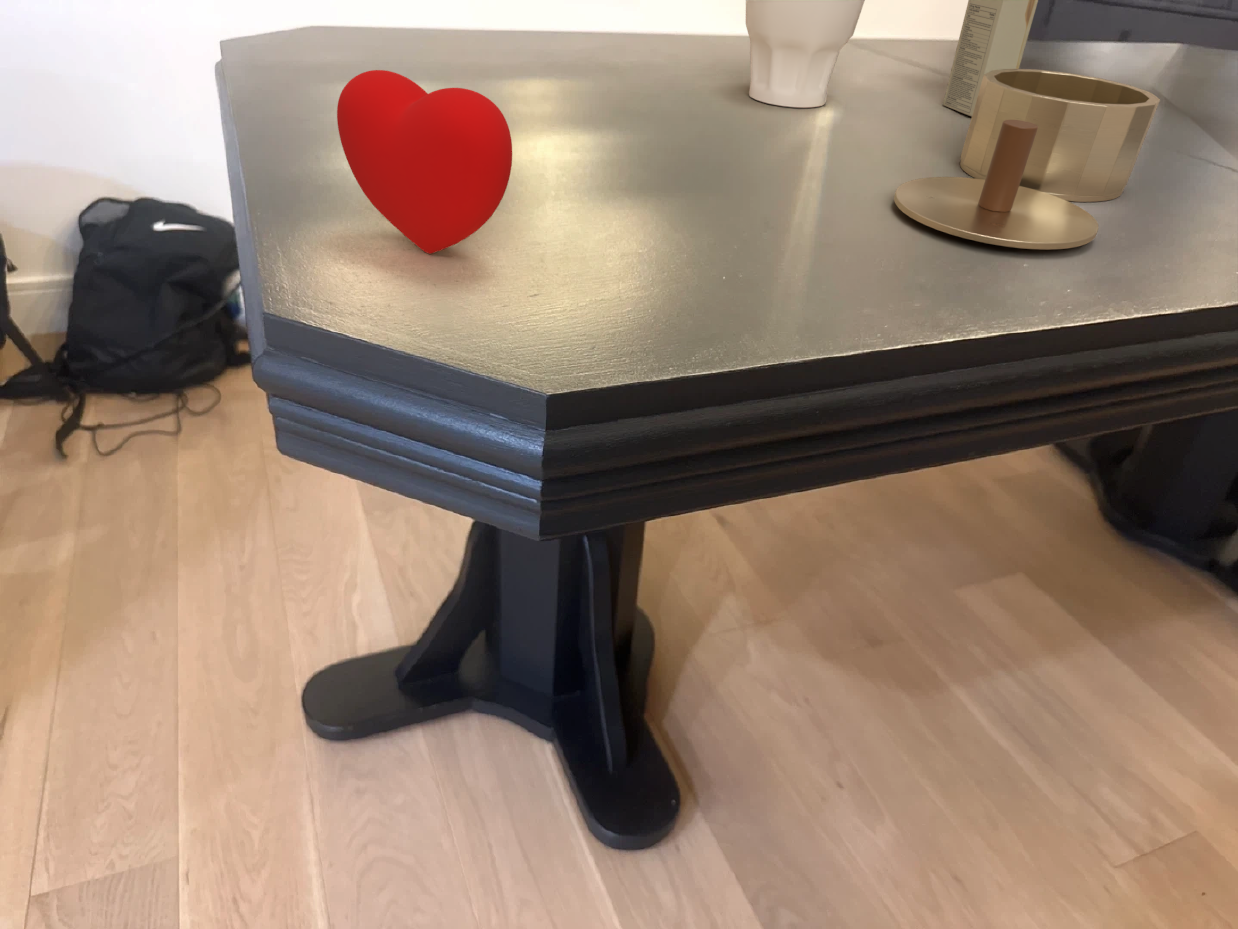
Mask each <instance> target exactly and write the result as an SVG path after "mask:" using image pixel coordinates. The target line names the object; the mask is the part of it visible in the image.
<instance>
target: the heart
mask: <svg viewBox="0 0 1238 929" xmlns="http://www.w3.org/2000/svg"><path fill="white" fill-rule="evenodd" d="M336 119H337V120H336V121H337V129H338V135H339V139H340V143H341V147H342V150H343V153H344V156H345V158H346V161H347V163H348V164H347V165H348V166H349V169H350V170H351V172H352V175H353V177H354V179H355V180H356V182H357V185H358V186H359V187H360V189H361V191H362V193H363V194H364V195H365V197H366V198H367V199H368V201H369V202H370V203H371V205H372V206H373V207H374V208H375V209H376V210H377V211H378V212H379V213H380V215H382V216H383V217H384V218H385V219H386V220H387V221H388V222H389V223H390V224H391V225H392V226H393V227H395V228H396V229H397V230H398V231H399V232H400V233H401V234H402V235H403V236H405V237H406V238H407V239H408V240H410V241H411V243H413V244H414V245H415V246H416V247H418V248H419V249H420V250H421V251H423V252H425V253H426V254H435V253H437V252H440V251H443V250H446V249H448V248H450V247H452V246H455V245H457V244H459V243H460V242H462V241H464V240H466V239H468V237H470V236H472V235H473V234H475V233H476V232H477V231H479V229H480V228H482V227H483V226H484V225H485V224H486V223H487V222H488V221H489V219H491V217H493V215H494V213H495V212H496V210H498V207H499V206H500V204H501V202H502V200H503V198H504V195H505V193H506V190H507V187H508V184H509V181H510V176H511V172H512V166H513V141H512V136H511V131H510V126H509V125H508V122H507V119H506V117H505V116H504V114H503V112H502V111H501V109H500V108H499V107H498V106H497V104H495V102H493V101H492V100H491V99H489V98H488V97H486V96H485V95H484V94H481V93H480V92H477V91H475V90H473V89H468V88H463V87H446V88H440V89H436V90H433V91H431V92H429V93H428V92H427V91H426V90H424V89H423V87H421V86H420V85H419V84H418V83H416V82H415V81H414V80H411V79H410V78H409V77H407V76H404V75H402V74H400V73H397V72H394V71H391V70H390V71H389V70H384V69H372V70H367V71H363V72H361V73H359V74H357V75H355V76H354V77H353V78H351V79H349V81H348V82H347V83H346V84H345V86H344V87H343V89H342V90H341V92H340V94H339V97H338V101H337V108H336Z"/></svg>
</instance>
